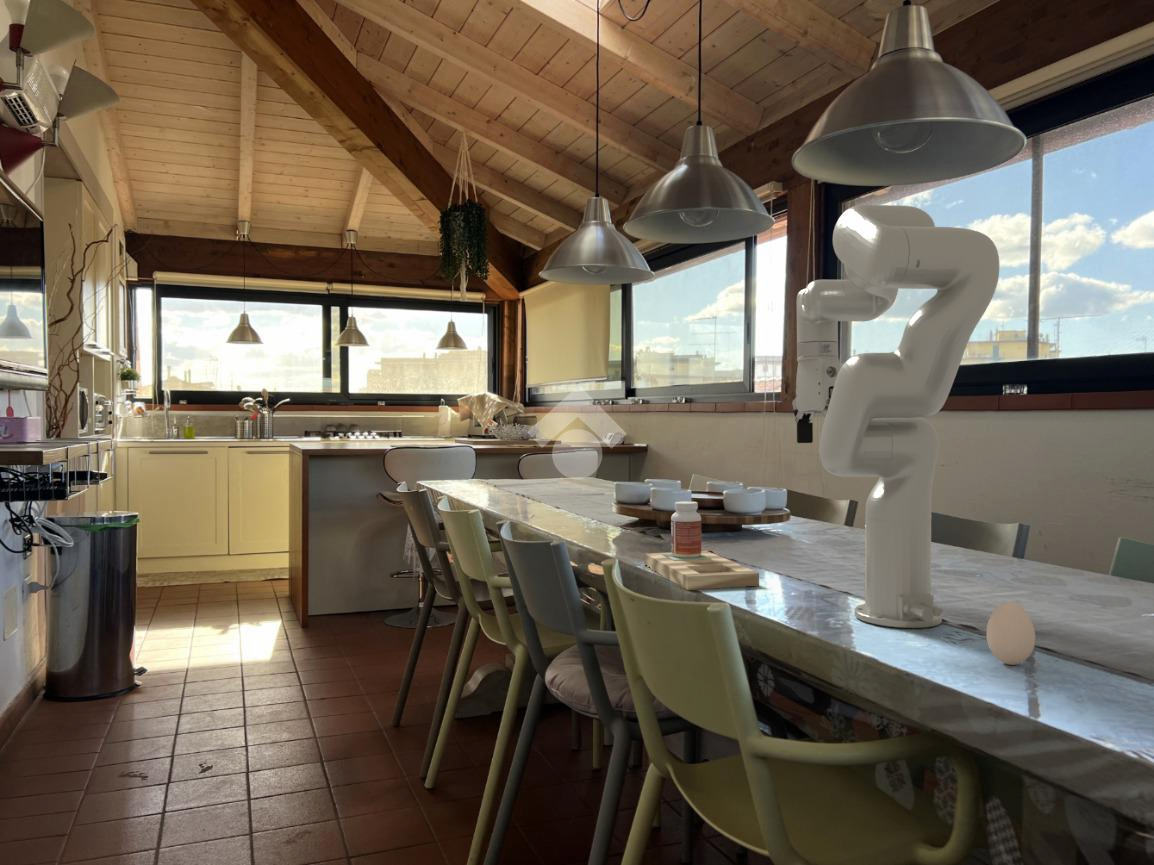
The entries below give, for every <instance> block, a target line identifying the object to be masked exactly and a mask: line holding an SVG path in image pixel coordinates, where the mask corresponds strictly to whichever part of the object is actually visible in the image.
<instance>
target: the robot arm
mask: <svg viewBox="0 0 1154 865" xmlns="http://www.w3.org/2000/svg"><path fill="white" fill-rule="evenodd" d="M832 246H833V250H834V253H835V256H836V257H837V258H838V260H839V261H840V262H841V263H842V264H843V265H844V271H845V274H846V276H847V278H848V279H816V280H813V281H811V282H809V283H808V284H807V285H806V286H805V288H803V289H801V290H800V291H798V292H797V295H796V361H797V371H796V379H795V380H796V384H795V385H796V386H795V398H794V399H792V403H791V404H792V407H793V415H794V418H795V419H794V422H795V423H796V443H797V444H812V443H813V441H814V439H813V438H814V434H813V433H814V432H813V430H814V427H813V424H814V423H813V422H811V421H812V419H813V416H814V414H815V413H818V414H819V413H822V414H823V416H824V421H823V425H822V429H821V433H820V437H819V438H820V439H819V444H818V446H819V447H818V448H819V449H818V451H819V459H820V462H821V463H820V464H822V467H823V468H824V469H825V470H826V472H828V473H829V474H831V475H833V476H835V477H836V476H837V477H842V478H860V477H861V478H863V477H864V478H868V477H872V478H873V477H874V478H875V477H876V478H878V480H877V482H876V483H875V484H874V486H873V488H872V489H871V491H870V493H869V495H868V497H867V499H866V501H865V502H866V503H865V512H864V513H865V518H864V520H865V521H864V522H865V523H864V538H865V539H864V542H865V543H864V546H865V547H864V550H865V552H864V553H865V554H864V555H865V556H864V558H865V559H864V563H865V564H864V565H865V566H864V578H865V579H864V580H865V583H864V586H865V587H864V592H865V593H864V594H865V595H864V597H865V599H864V600H865V601H864V603H862V604H859V605H857V606H855V608H854V616H855V617H856V618H857V619H858V620H860V621H863V622H865V623H869V624H872V625H879V626H884V627H890V628H899V629H901V628H904V629H923V628H931V627H936V626H938V625H940V624H942V622H943V618H942V617H943V609H942V608H941V607H939V606H936V605H934V599H935V598H934V596H935V595H934V594H932V498H933V497H932V495H933V484H934V476H935V470H936V467H937V466H936V465H937V460H938V455H939V450H940V440H939V435H938V432H937V430H936V428H935V426H934V424H932V423H931V421H928V420H927V419H926V418H924V417H930V416H933V415H935V414H937V413H938V412H940V410H941V409H942V408H943V407H944V406H945V403H946V401H947V399H948V397H949V394H950V393H951V389H952V387H953V384H954V381H955V378H956V376H957V373H958V371H959V367H960V365H961V363H962V360H963V357H964V354H965V352H966V349H967V345H968V344H969V341H970V338H971V335H972V334H973V332H974V330H975V329H976V327H977V325H978V324H979V322H980V321H981V319H982V317H983V316H984V315H985V312H986V310H987V309H988V308H989V305H990V303H991V301H992V300H993V297H994V295H995V293H996V289H997V286H998V281H999V277H1000V256H999V250H998V248H997V246H996V244H995V243H994V241H993V239H991V237H989V236H987V235H986V234H985V233H983V232H980V231H977V230H974V229H969V228H963V227H955V226H954V227H949V226H936V224H935V222H934V220H933V218H932V217H931V216H930V214H929V213H928V212H926V211H924V210H923V209H921V208H918V207H916V206H915V207H914V206H910V205H888V204H887V205H886V204H883V205H882V204H856V205H853V206H851V207H849V208H848V209H846V210H845V211H843V213H842V214H841V215H840V216H839V218H838V219H837V221H836V223H835V224H834V229H833V233H832ZM899 289H900V290H901V289H906V290H907V289H909V290H911V289H912V290H913V289H914V290H915V289H917V290H921V289H922V290H923V289H925V290H926V289H927V290H932V289H933V290H934V289H937V290H936V293H935V294H934V295H933V296H932V297H931V298H929V299H928V300H926V301H925V302H924V303H923V304H922V305H921V306H920V307H919V308H918V309H917V310H916V311H915V312H914V313H913V315H912V316H911V317H910V318H909V320H908V321H907V323H906V325H905V328H904V331H903V334H902V337H901V340H900V343H899V345H898V347H897V349H895V350H893V351H890V352H864V353H859V354H855V355H853V356H851V357H849V358H848V359H847V360H846V361H845V362H844V364H842V366H841V362H840V359H839V343H838V342H839V339H838V338H839V334H838V333H839V332H838V331H839V330H838V329H839V328H838V326H839V325H838V323H839V322H861V323H862V322H869V321H872V320H875V319H877V318H879V317H880V316H881V315H883V314H884V313H886V312H888V310H889V309H891V307H892V306H893V305H894V303H895V301H896V299H897V296H898V293H899Z"/></svg>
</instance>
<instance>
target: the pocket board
mask: <svg viewBox="0 0 1154 865" xmlns="http://www.w3.org/2000/svg"><path fill="white" fill-rule="evenodd" d="M643 559H644V561H643V562H644V566H645V565H647V566H648V567H650V568H651V569H650V568H649V569H650V570H652V569H653V570H652V571H653V572H655V571H656V572H655V573H657V574H659V575H660V574H661V576H662V575H663V577H664V578H666V579H668V580H669V581H671V582H672V583H674V584H676V585H678V586H680V587H681V588H683V589H685V590H686V591H699V590H698V589H701V590H711V589H710V588H720V589H725V588H724V587H739V588H747V587H746V586H757V587H759V586H760V573H759V572H758V571H756V570H754V569H751V568H748V567H746V566H743V565H741V564H739V563H736V562H734V561H732V560H729V559H727V558H725V557H722V556H720V555H717V554H715V553H713V552H710V551H708V550H701V556H699V557H695V558H680V557H674V556H673V555H672V553H671V552H669V551H668V552H651V553H644V558H643ZM647 566H646V567H647ZM648 567H647V568H648ZM744 586H745V587H744Z"/></svg>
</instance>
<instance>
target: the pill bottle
mask: <svg viewBox="0 0 1154 865" xmlns="http://www.w3.org/2000/svg"><path fill="white" fill-rule="evenodd" d="M698 505H699V504H698V502H697V501H688V500H687V501H686V500H685V501H676V502H674V510H675V512H674V513H673V514H672V515H671V516H670V517H671V518H670V526H671V527H670V530H671V533H670V535H671V536H670V538H671V539H670V540H671V544H670V546H671V553H672V555H673V556H674V557H680V558H695V557H699V556H701V551H702V516H701V515H700V513H699V512H697V510H698V508H699V506H698Z"/></svg>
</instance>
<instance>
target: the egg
mask: <svg viewBox="0 0 1154 865" xmlns="http://www.w3.org/2000/svg"><path fill="white" fill-rule="evenodd" d="M986 642H987V645H988V647H989V649H990V652H991V653H992V655H994V657H995V658H996V659H997V660H999V661H1000V662H1001V663H1003V664H1004V665H1005V664H1006V665H1009V666H1010V665H1011V666H1016V665H1019V664H1022V663H1023V662H1025V661H1026V660H1027V659H1028V658H1029V657H1030V656H1031V654H1032V653H1033V651H1034V649H1035V644H1036V633H1035V626H1034V624H1033V621H1032V619H1031V616H1030V615H1029V614H1028V612H1027V610H1026V609H1025V608H1023V607H1022V606H1021V605H1019V603H1017V602H1014V601H1005V602H1003V603H1000V604H999V605H998V606H996V608H995V609H994V610H993V611H992V613H991V614H990V616H989V618H988V620H987V625H986Z"/></svg>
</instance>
